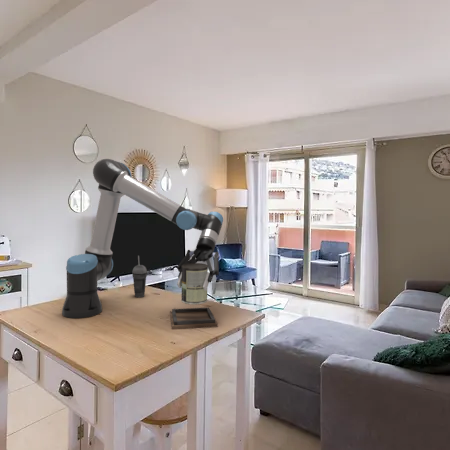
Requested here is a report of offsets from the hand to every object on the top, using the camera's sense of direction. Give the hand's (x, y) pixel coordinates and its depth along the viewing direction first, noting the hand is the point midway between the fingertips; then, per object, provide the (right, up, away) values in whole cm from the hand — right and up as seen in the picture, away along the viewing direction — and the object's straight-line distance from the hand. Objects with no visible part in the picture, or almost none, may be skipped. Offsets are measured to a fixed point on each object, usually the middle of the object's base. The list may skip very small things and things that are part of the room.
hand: (191, 287), depth 129 cm
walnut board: (0, -14, +4) cm, 14 cm away
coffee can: (+1, -6, +3) cm, 7 cm away
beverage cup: (-29, -11, +36) cm, 48 cm away
